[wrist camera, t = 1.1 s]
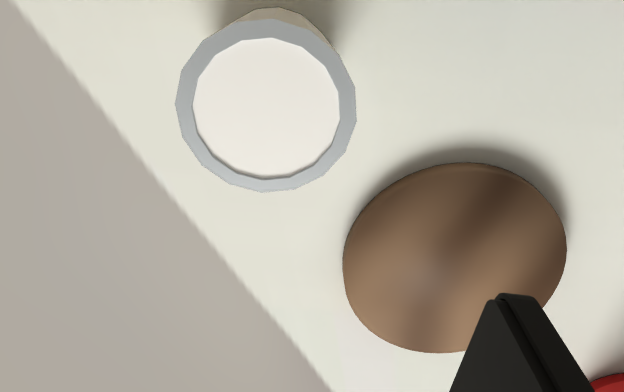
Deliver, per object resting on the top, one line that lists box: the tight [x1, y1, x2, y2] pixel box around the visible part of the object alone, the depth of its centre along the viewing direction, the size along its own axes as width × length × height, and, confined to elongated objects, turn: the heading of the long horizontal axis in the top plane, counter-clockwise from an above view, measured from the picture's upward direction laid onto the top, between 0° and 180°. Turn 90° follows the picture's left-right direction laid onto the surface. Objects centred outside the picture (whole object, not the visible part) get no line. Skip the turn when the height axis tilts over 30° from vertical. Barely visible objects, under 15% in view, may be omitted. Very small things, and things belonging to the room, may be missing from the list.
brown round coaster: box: [343, 163, 567, 353], centre depth 31 cm, size 13×13×1 cm
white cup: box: [175, 7, 357, 193], centre depth 22 cm, size 7×7×7 cm
